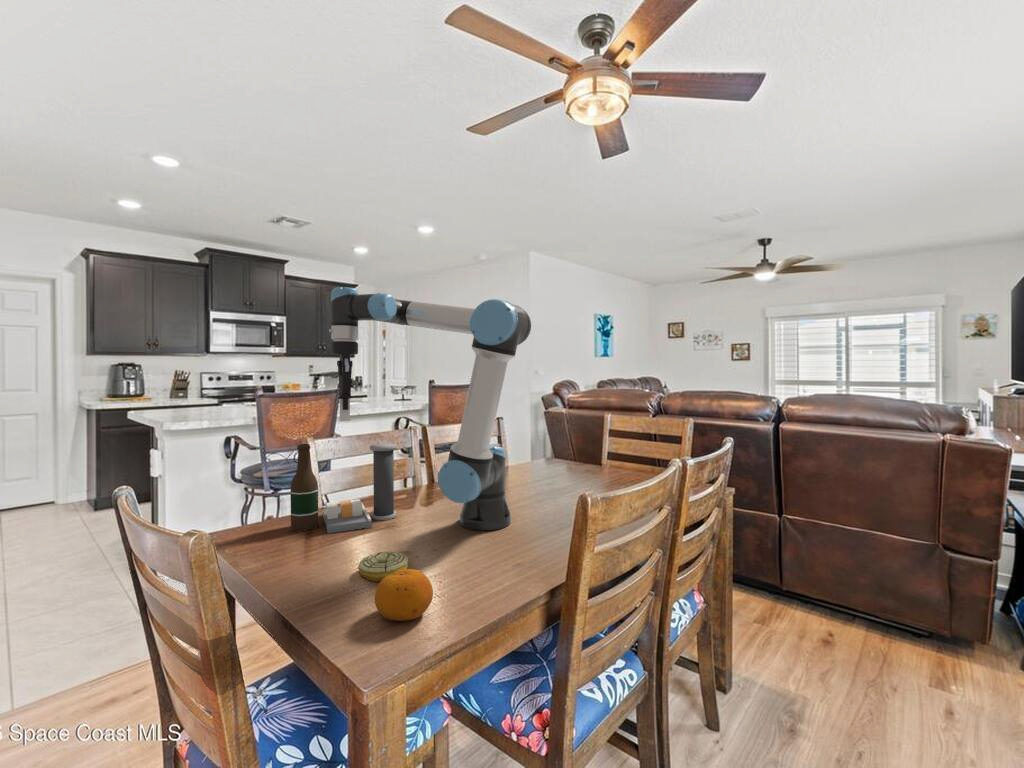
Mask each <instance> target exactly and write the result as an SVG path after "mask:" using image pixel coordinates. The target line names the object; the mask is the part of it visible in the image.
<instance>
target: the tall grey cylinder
mask: <svg viewBox="0 0 1024 768" xmlns="http://www.w3.org/2000/svg"><path fill="white" fill-rule="evenodd" d="M397 448H398V444H397V443H396V444H395V443H375V444H371V445H369V450H370V451H372V452H373V453H372V454H373V468H372V469H373V472H372V473H373V511H371V512H370V514H369V516H370V518H371V520H372V519H373V520H372V521H378V522H379V521H381V520H383V521H389V519H390V520H393V519H392V518H394V519H395V517H396V516H397V517H398V512H397V511H396V510H395V503H394V501H395V500H394V498H395V495H394V493H395V491H394V490H395V485H394V484H395V481H394V479H395V478H394V476H395V475H394V474H395V473H394V472H395V471H394V467H395V466H394V464H395V463H394V461H395V460H394V457H395V456H394V452H395V451H396V450H397ZM397 517H396V518H397ZM381 522H382V521H381Z"/></svg>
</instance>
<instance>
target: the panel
mask: <svg viewBox="0 0 1024 768" xmlns="http://www.w3.org/2000/svg"><path fill="white" fill-rule="evenodd" d="M322 517H323V521H324V524H325V530H326V529H327V530H326V533H328V534H334V533H333V532H335V533H341V532H342V531H343V532H349V530H350V531H356V530H355V529H358V530H363V529H362V528H365V529H371V527H372V528H373V520H372V519H371V518H370V514H369V513H368V510H367V508H366V506H365V505H364V504H363V502H362V515H359V516H351V517H343V518H342V515H341V513H340V506H338V518H334V519H328V518H327V515H326V507H324V508H322Z"/></svg>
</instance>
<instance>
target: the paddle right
mask: <svg viewBox="0 0 1024 768" xmlns="http://www.w3.org/2000/svg"><path fill="white" fill-rule="evenodd" d="M350 501H351V503H352V516H359V515H362V503H363V502H362V500H361V499H359V498H358V499H350Z"/></svg>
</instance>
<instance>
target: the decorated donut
mask: <svg viewBox="0 0 1024 768" xmlns="http://www.w3.org/2000/svg"><path fill="white" fill-rule="evenodd" d="M408 566H409V558H408V557H407V555H406V554H404V553H401V552H398V551H397V552H396V551H380V552H379V551H378V552H376V553H373V554H369V555H367V556H365V557H363V558H362V559H361V560H360V561H359V563H358V566H357V569H358V570H359V574H360V575H361V576H362V577H363V579H366V580H367V581H372V582H381V580H383V579H384V578H385V577H386V576H388V575H390V574H392V573H395V572H396V571H399V570H404V569H408Z"/></svg>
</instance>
